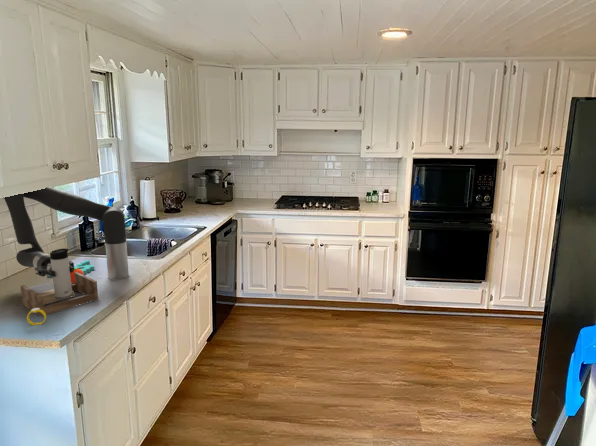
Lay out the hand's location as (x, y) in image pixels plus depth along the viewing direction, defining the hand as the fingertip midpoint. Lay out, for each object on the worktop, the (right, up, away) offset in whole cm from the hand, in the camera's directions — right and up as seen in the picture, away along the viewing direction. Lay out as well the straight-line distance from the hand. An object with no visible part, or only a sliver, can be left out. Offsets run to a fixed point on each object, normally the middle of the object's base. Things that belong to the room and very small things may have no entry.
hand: (63, 272), depth 174 cm
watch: (-2, -18, -14) cm, 23 cm away
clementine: (-9, -8, +28) cm, 31 cm away
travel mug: (-2, -11, +4) cm, 11 cm away
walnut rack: (-4, -13, +6) cm, 15 cm away
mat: (-21, -10, +19) cm, 30 cm away
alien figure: (-19, -5, +43) cm, 48 cm away
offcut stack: (-8, -13, +9) cm, 17 cm away
